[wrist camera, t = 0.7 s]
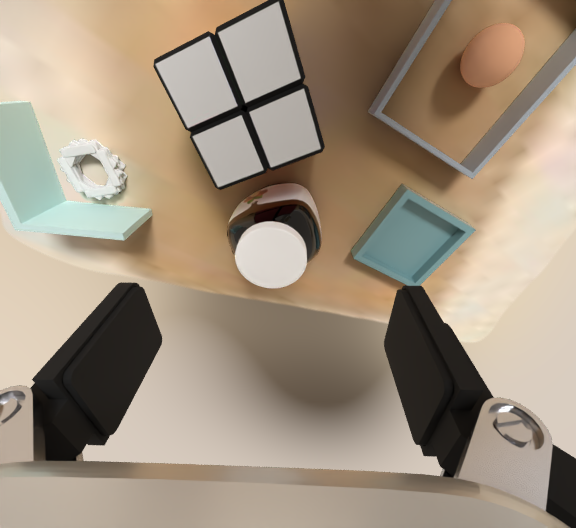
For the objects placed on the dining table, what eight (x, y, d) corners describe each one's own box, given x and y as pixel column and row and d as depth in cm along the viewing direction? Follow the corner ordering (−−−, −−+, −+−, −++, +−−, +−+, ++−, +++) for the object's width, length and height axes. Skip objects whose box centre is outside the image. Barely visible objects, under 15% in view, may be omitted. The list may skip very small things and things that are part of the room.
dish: (402, 183, 33) (407, 189, 32) (467, 222, 36) (475, 229, 34) (350, 250, 39) (353, 258, 37) (410, 280, 41) (415, 289, 39)
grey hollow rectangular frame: (504, -116, 21) (533, -143, 18) (611, -7, 24) (648, -17, 21) (367, 111, 29) (373, 114, 27) (458, 171, 32) (472, 179, 30)
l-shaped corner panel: (154, 213, 37) (124, 240, 31) (63, 204, 37) (15, 230, 31) (134, 112, 31) (92, 120, 24) (24, 100, 30) (-48, 105, 24)
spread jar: (307, 170, 33) (310, 207, 23) (331, 249, 39) (341, 305, 29) (216, 201, 35) (185, 246, 26) (251, 270, 41) (236, 329, 31)
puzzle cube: (319, 132, 31) (326, 151, 22) (237, 164, 33) (216, 192, 25) (287, 20, 26) (281, -9, 17) (193, 67, 28) (148, 61, 20)
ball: (478, 16, 25) (511, 3, 21) (514, 46, 26) (551, 40, 22) (440, 71, 27) (464, 69, 23) (475, 96, 28) (502, 99, 24)
